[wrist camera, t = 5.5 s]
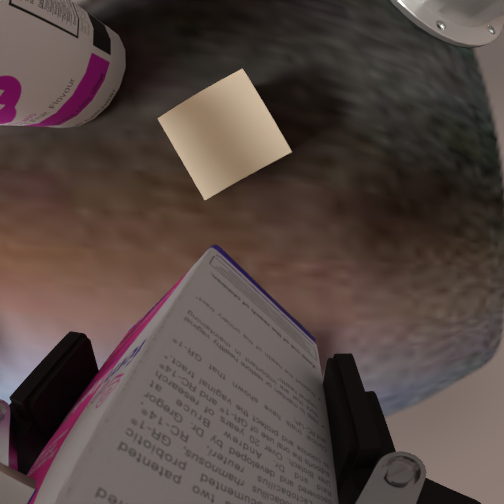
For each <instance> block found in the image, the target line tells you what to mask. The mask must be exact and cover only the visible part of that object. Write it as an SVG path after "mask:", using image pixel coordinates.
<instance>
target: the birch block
mask: <svg viewBox="0 0 504 504" xmlns="http://www.w3.org/2000/svg"><path fill="white" fill-rule="evenodd" d="M158 120H159V122H160V123H161V125H162V127H163V129H164V130H165V132H166V134H167V136H168V137H169V139H170V141H171V143H172V144H173V146H174V148H175V150H176V151H177V153H178V155H179V157H180V158H181V160H182V162H183V163H184V165H185V167H186V169H187V170H188V172H189V174H190V176H191V177H192V179H193V181H194V182H195V184H196V186H197V188H198V189H199V191H200V193H201V194H202V196H203V198H204V200H206V199H208V198H210V197H211V196H213V195H215V194H216V193H218V192H220V191H222V190H223V189H225V188H227V187H229V186H230V185H232V184H234V183H236V182H238V181H239V180H241V179H243V178H245V177H247V176H248V175H250V174H252V173H254V172H256V171H257V170H259V169H261V168H263V167H265V166H267V165H268V164H270V163H272V162H274V161H276V160H278V159H280V158H282V157H283V156H285V155H287V154H289V153H291V152H292V151H291V149H290V148H289V146H288V144H287V142H286V140H285V139H284V137H283V135H282V133H281V132H280V130H279V128H278V126H277V125H276V123H275V121H274V120H273V118H272V116H271V114H270V113H269V111H268V109H267V108H266V106H265V104H264V103H263V101H262V99H261V98H260V96H259V94H258V93H257V91H256V89H255V88H254V86H253V85H252V83H251V81H250V80H249V78H248V77H247V75H246V73H245V72H244V70H243V69H241V70H239V71H237V72H235V73H233V74H231V75H229V76H228V77H226V78H224V79H222V80H220V81H219V82H217V83H215V84H213V85H211V86H210V87H208V88H206V89H204V90H203V91H201V92H199V93H198V94H196V95H194V96H193V97H191V98H189V99H188V100H186V101H184V102H183V103H181V104H180V105H178V106H176V107H175V108H173V109H172V110H170V111H168V112H167V113H165V114H164V115H162V116H161V117H159V118H158Z"/></svg>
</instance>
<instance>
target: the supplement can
mask: <svg viewBox="0 0 504 504" xmlns="http://www.w3.org/2000/svg"><path fill="white" fill-rule="evenodd" d="M125 68H126V62H125V48H124V46H123V44H122V41H121V39H120V37H119V35H118V34H116V33H115V32H114V31H113V30H111V29H110V28H109V27H107V26H106V25H105V24H103V23H102V22H100V21H99V20H98V19H96V18H95V17H93V16H92V15H91V14H89V13H88V12H86V11H85V10H83V9H82V8H81V7H79V6H78V5H76V4H75V3H73V2H72V1H70V0H0V125H17V126H40V127H56V128H68V127H78V126H80V125H82V124H84V123H86V122H88V121H90V120H93V119H94V118H95V117H97V116H98V115H99V114H100V113H101V112H102V111H103V110H104V109H105V108H106V107H107V106H108V105H109V104H110V102H111V101H112V99H113V97H114V96H115V94H116V92H117V91H118V89H119V88H120V85H121V82H122V78H123V75H124V71H125Z"/></svg>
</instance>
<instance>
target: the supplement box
mask: <svg viewBox="0 0 504 504" xmlns="http://www.w3.org/2000/svg"><path fill="white" fill-rule="evenodd" d="M26 476H29V477H31V478H33V479H35V480H36V488H35V491H34V493H33V494H32V496H31V498H30V499H29V501H28V503H27V504H339V503H338V495H337V484H336V475H335V468H334V460H333V451H332V442H331V435H330V428H329V420H328V413H327V406H326V400H325V394H324V388H323V380H322V374H321V367H320V361H319V354H318V349H317V345H316V339H315V337H314V336H312V335H311V334H310V332H309V331H308V330H307V329H305V328H304V327H303V326H302V325H301V324H300V323H299V322H298V321H297V320H296V319H295V318H293V317H292V316H291V315H290V314H289V313H288V312H287V311H286V310H285V309H284V308H283V307H282V306H281V305H279V304H278V303H277V301H275V300H274V299H273V298H272V297H271V296H270V295H269V294H268V293H267V292H266V291H265V290H264V289H263V288H262V287H261V286H260V285H259V284H258V283H257V282H256V281H255V280H254V279H253V278H252V277H251V276H250V275H249V274H248V273H247V272H246V271H245V270H244V269H243V268H241V267H240V266H239V265H238V264H237V263H236V262H235V261H234V260H233V259H232V258H231V257H230V256H229V255H228V254H227V253H226V252H225V251H224V250H223V249H222V248H221V247H219V246H218V245H212V246H211V247H210V248H209V249H208V250H207V251H206V252H205V253H204V254H203V255H202V257H201V258H200V259H199V260H198V261H197V262H196V263H195V264H194V266H193V267H192V268H191V269H190V270H189V271H188V272H187V273H186V274H185V275H184V276H183V277H182V278H181V279H180V280H179V281H178V282H177V283H176V284H175V285H174V286H173V287H172V288H171V290H170V291H169V292H168V293H167V294H166V295H165V296H164V297H163V298H162V299H161V300H160V301H159V302H158V303H157V304H156V305H155V306H154V307H153V308H152V309H151V310H150V311H149V312H148V313H147V314H146V315H145V316H144V317H143V318H142V319H141V320H139V321H138V322H137V323H136V324H135V325H134V326H133V327H132V328H131V329H130V330H129V332H128V333H127V334H126V336H125V337H124V338H123V340H122V341H121V342H120V344H119V345H118V346H117V347H116V349H115V350H114V351H113V353H112V354H111V355H110V357H109V358H108V359H107V361H106V362H105V363H104V365H103V366H102V367H101V369H100V370H99V371H98V373H97V374H96V375H95V377H94V378H93V380H92V381H91V382H90V384H89V385H88V386H87V388H86V389H85V391H84V392H83V393H82V395H81V396H80V397H79V399H78V400H77V402H76V403H75V404H74V406H73V407H72V409H71V410H70V411H69V413H68V414H67V416H66V417H65V419H64V420H63V422H62V423H61V424H60V426H59V428H58V429H57V430H56V432H55V433H54V435H53V436H52V438H51V439H50V440H49V442H48V443H47V445H46V446H45V448H44V449H43V451H42V452H41V454H40V455H39V457H38V458H37V460H36V461H35V463H34V464H33V466H32V468H31V469H30V471H29V472H28V474H27V475H26Z"/></svg>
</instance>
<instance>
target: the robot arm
mask: <svg viewBox="0 0 504 504" xmlns="http://www.w3.org/2000/svg"><path fill="white" fill-rule="evenodd" d="M390 1H391V2H392V3H393V4H394V5H395V6H396V7H397V8H398V9H399V10H400V11H401V12H402V13H403V14H404V15H405V16H406V17H407V18H409V19H410V20H411V21H412V22H414V23H415V24H416V25H417V26H419V27H420V28H422V29H423V30H425V31H426V32H428V33H429V34H431V35H433V36H435V37H437V38H439V39H441V40H442V41H444V42H447V43H450V44H453V45H456V46H461V47H467V48H474V47H480V46H483V45H486V44H489V43H491V42H492V41H494V40H496V38H498V36H499V35H500V34H501V31H502V29H503V27H504V0H390ZM97 373H98V367H97V364H96V360H95V356H94V352H93V348H92V345H91V341H90V339H88V338H87V336H86V335H85V334H84V333H78V332H69V333H68V334H67V335H66V336H65V337H64V338H63V339H62V340H61V341H60V342H59V343H58V344H57V345H56V346H55V347H54V349H53V350H52V351H51V352H50V353H49V354H48V355H47V356H46V357H45V358H44V359H43V360H42V361H41V363H40V364H39V365H38V366H37V367H36V368H35V369H34V370H33V371H32V372H31V374H30V375H29V376H28V377H27V378H26V379H25V380H24V381H23V383H22V384H21V385H20V386H19V387H18V388H17V389H16V391H15V392H14V393H13V394H12V395H11V396H10V397H9V398H10V400H11V404H10V405H8V403H7V402H5V401H4V400H1V399H0V504H27V503H28V501H29V499H30V498H31V496H32V494H33V493H34V491H35V488H36V480H35V479H33V478H31V477H29V476H26V475H27V474H28V472H29V471H30V469H31V468H32V466H33V464H34V463H35V461H36V460H37V458H38V457H39V455H40V454H41V452H42V451H43V449H44V448H45V446H46V445H47V443H48V442H49V440H50V439H51V438H52V436H53V435H54V433H55V432H56V430H57V429H58V428H59V426H60V424H61V423H62V422H63V420H64V419H65V417H66V416H67V414H68V413H69V411H70V410H71V409H72V407H73V406H74V404H75V403H76V402H77V400H78V399H79V397H80V396H81V395H82V393H83V392H84V391H85V389H86V388H87V386H88V385H89V384H90V382H91V381H92V380H93V378H94V377H95V375H96V374H97ZM323 388H324V394H325V400H326V406H327V413H328V420H329V428H330V435H331V442H332V451H333V460H334V468H335V475H336V484H337V495H338V503H339V504H481V503H480V502H478V501H476V500H475V499H472V498H470V497H467V496H465V495H463V494H460V493H458V492H456V491H453V490H451V489H449V488H447V487H444V486H442V485H440V484H438V483H435V482H434V481H432V480H429V479H427V478H425V477H426V469H425V466H424V464H423V462H422V461H421V460H420V459H419V458H418V457H416V456H415V455H413V454H410V453H407V452H396V451H395V448H394V445H393V442H392V439H391V436H390V433H389V430H388V427H387V424H386V421H385V418H384V415H383V412H382V410H381V407H380V404H379V401H378V398H377V396H376V394H375V392H373V391H368V392H365V390H364V387H363V384H362V381H361V378H360V375H359V372H358V369H357V366H356V363H355V360H354V358H353V355H352V354H334V356H333V358H328V360H327V365H326V370H325V376H324V381H323Z"/></svg>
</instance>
